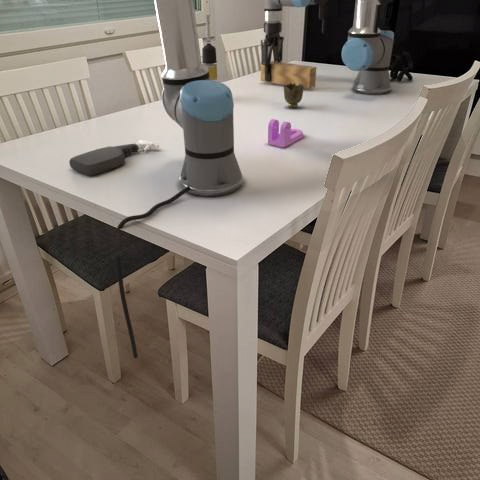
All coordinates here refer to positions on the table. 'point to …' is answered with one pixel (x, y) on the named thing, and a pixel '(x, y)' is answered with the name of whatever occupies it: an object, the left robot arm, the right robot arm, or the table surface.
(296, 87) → the cup
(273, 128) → the bracket
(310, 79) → the bar
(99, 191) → the table surface
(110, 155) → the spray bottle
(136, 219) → the left robot arm
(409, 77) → the squiggle
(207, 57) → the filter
